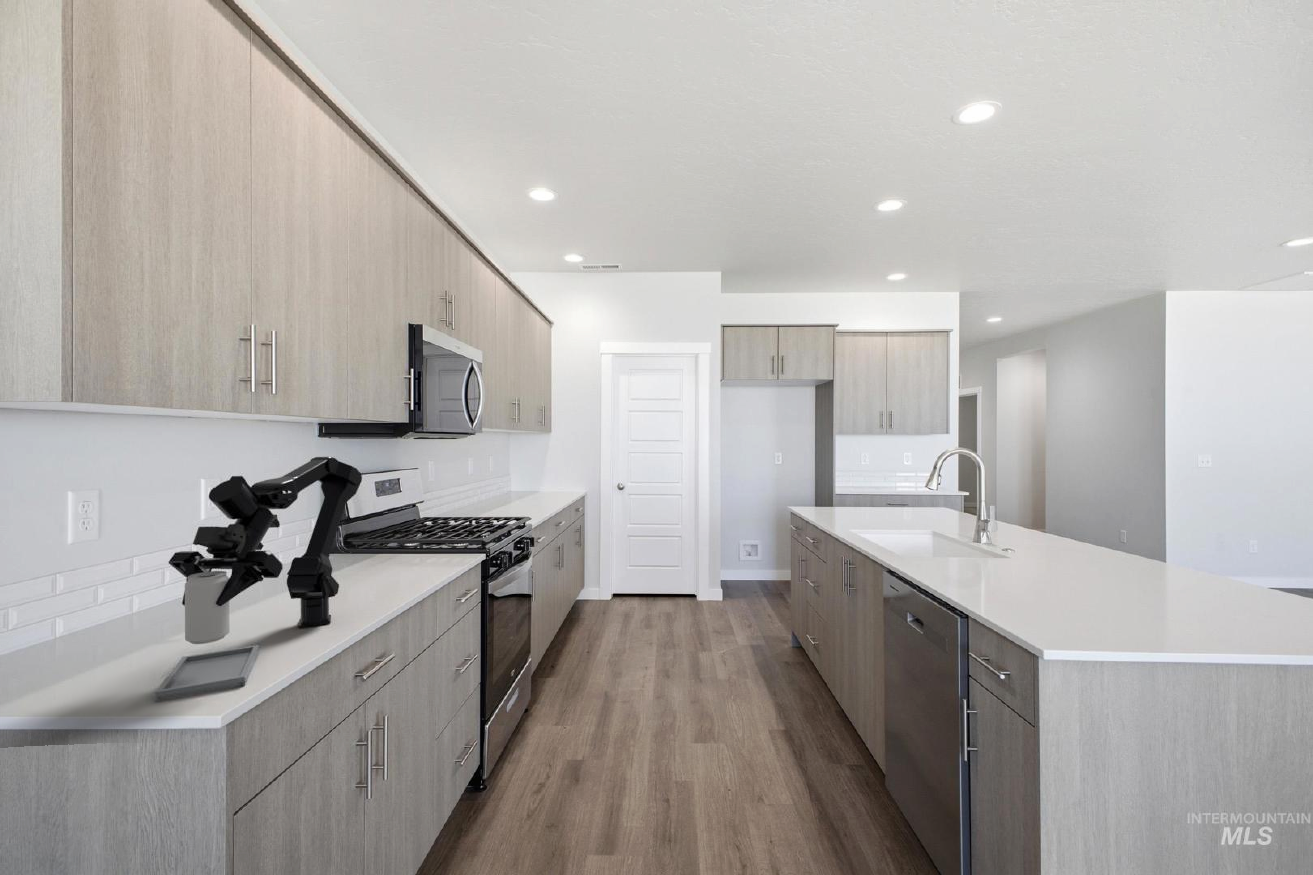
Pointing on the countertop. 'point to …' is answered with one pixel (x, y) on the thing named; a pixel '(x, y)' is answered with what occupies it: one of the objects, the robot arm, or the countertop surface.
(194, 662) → the tray
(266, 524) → the robot arm
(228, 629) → the beverage can
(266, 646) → the countertop surface
